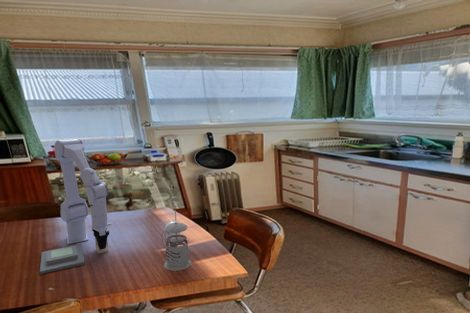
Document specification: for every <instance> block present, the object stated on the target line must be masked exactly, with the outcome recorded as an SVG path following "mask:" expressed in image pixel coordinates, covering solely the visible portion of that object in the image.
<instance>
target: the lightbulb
mask: <svg viewBox="0 0 470 313" xmlns="http://www.w3.org/2000/svg"><path fill="white" fill-rule="evenodd" d="M172 223H180V222H179V221H177V220H176V221H175V220H170V221H168V222H167V223H166V225H165V227H166V226H168V225H169V224H172ZM165 232H166V231H165ZM167 233H168V234H167ZM180 233H181V232H179V233H177V235H181V234H180ZM166 235H167V236H168V237H169V236H172V235H176V233H169V232H166ZM176 244H178V243H176Z"/></svg>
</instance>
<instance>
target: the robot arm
mask: <svg viewBox="0 0 470 313" xmlns="http://www.w3.org/2000/svg"><path fill="white" fill-rule="evenodd" d="M53 149H54V155H55V159H56V160H57V161H59V164H60V169H61V173H62V174H61V175H62V180H63V186H64V192H65V195H66V196H65V200H64V201H63V202H62V203H60V218H61V220H62V221H63V222H64V223H66V231H67V235H66V242H67V245H71V244H75V243H80V242H81V243H82V242H86V241H89V238H88V234H87V230H86V219H87V216H88V215H89V212H90V216H91V231H92V232H93V234H92V235H93V236H94V239H95V238H96V239H97V242H98V246H99V249H100V250H101V249H105V248H106V242H107V243H108V237H109V235H110V231H109V230H107V229H108V227H109V226H112V222H111V221H110V222H108V211H107V210H108V208H107V200H106V199H107V197H108V196H109V189H108V186H107V183H105V182H103V181H102V180H100V178H99V176H98V174H97V172H96V171H95V169H94V168H91V167H90V164H89V163H88V160H87V158H86V156H85V154H84V152H85V143H84V141H83V140H82V138H72V139H62V140H60V139H57V140H56V141H55V142H54V146H53ZM75 165H76V167H77V168H78V169H79V171H80V174H79V177H80V179H81V181H82V183H83V185H84V187H85V188H86V192H85V194H86V197H87V200H88V204H89V205H90V209H89V206H88V204H87V201H86V199H85V198H82V197H81V196H80V193H79V187H78V181H77V175H76V168H75Z"/></svg>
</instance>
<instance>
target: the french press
mask: <svg viewBox="0 0 470 313" xmlns="http://www.w3.org/2000/svg"><path fill="white" fill-rule="evenodd" d="M171 200H172V201H173V202H176V201H178V197H176V196H174V197H171ZM176 209H177V208H176V207H174V216H175V218H174V221H177V214H176ZM187 229H188V225H186V224H185V223H183V222H179V223H172V224H169V225H168V226H166V225H165V227H164V230H163V231H162V233H161V235H160V236H161V239H163V234H164V235H167V234H168V233H166V232H169V233H176V235H172V236H168V237H164V240H165V244H164V242H163V240H161V242H162V245H163V247H164V248H165V251H166V255H165V256H166V261H165V263H164V264H163V267H164V268H165V269H166V270H168V271H172V272H173V271H176V272H177V271H182V270H186V269H188V268H189V267H191V265H192V261H191V260H190V259H189V242H188V239H187V236H186V235H184V234H179V235H177V233H179V232H180V233H183V232H185V231H187ZM176 243H177V244H176Z"/></svg>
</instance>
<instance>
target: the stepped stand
mask: <svg viewBox="0 0 470 313" xmlns="http://www.w3.org/2000/svg"><path fill="white" fill-rule="evenodd" d="M40 256H41V257H40V265H39V266H40V267H39V275H43V274H48V273H52V272H57V271H62V270H64V269H65V270H66V269H70V268H73V267H78V266H83V265H86V264H85V263H86V262H85V257H84V252H83V247H82V243H79V244H75V245H71V246H65V247H60V248H54V249H49V250H45V251H41V255H40Z"/></svg>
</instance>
